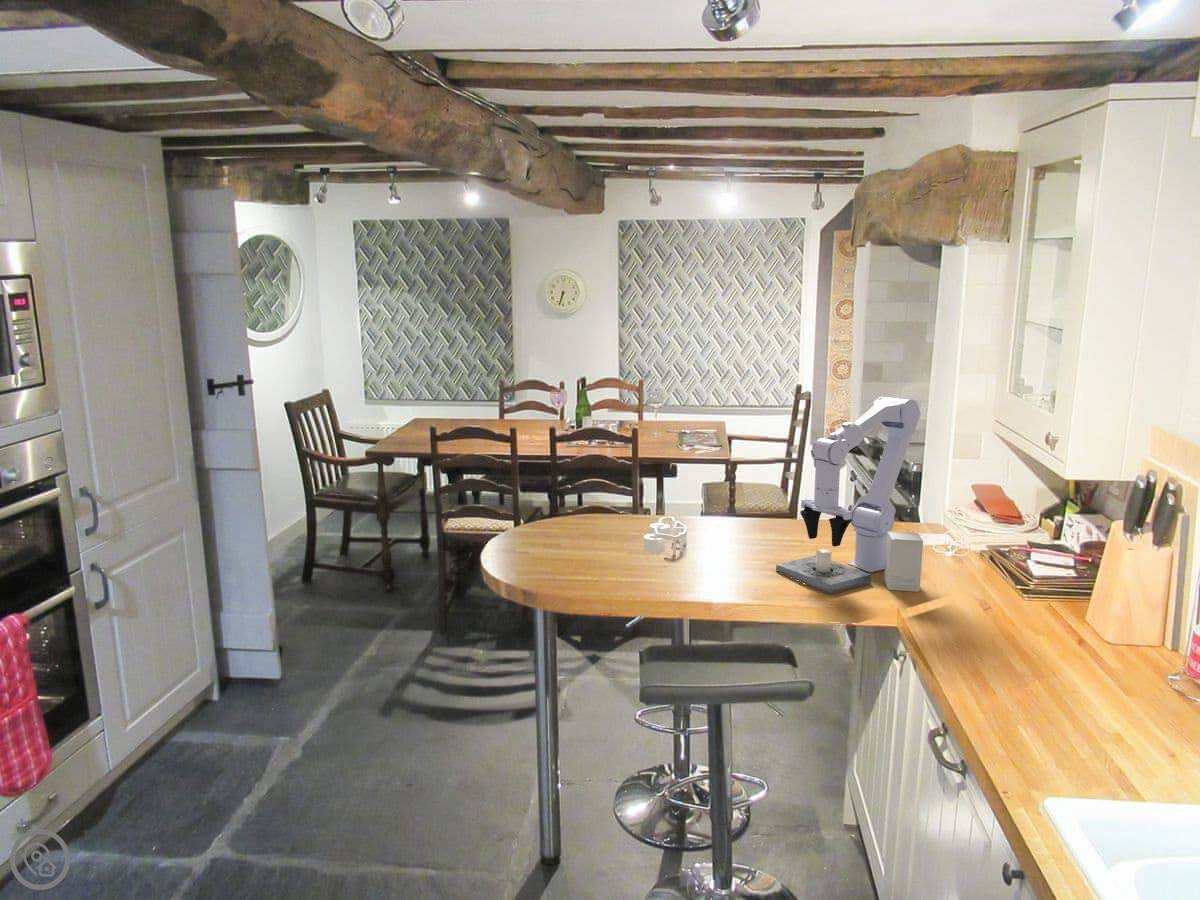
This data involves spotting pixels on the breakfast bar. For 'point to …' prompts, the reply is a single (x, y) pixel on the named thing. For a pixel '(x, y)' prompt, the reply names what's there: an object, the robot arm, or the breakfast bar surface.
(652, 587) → the breakfast bar surface
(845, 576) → the socket plate
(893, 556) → the supplement box
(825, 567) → the peg
